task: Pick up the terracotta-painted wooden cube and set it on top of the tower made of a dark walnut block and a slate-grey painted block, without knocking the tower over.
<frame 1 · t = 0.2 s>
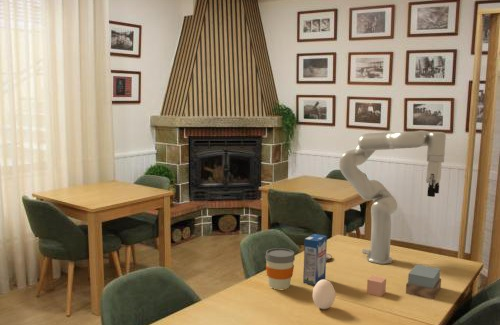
hand: (433, 194, 229), 37 cm above the table, tool pointing down, fingers open, 9 cm apart
reusable coffee cup: (279, 286, 210), on the table
egg: (323, 308, 189), on the table
walnut base block: (423, 291, 208), on the table, touching slate top block
milk carton: (314, 281, 217), on the table
terracotta block: (376, 292, 205), on the table
burger: (319, 259, 248), on the table
slate top block: (424, 281, 208), point 4 cm above the table, touching walnut base block
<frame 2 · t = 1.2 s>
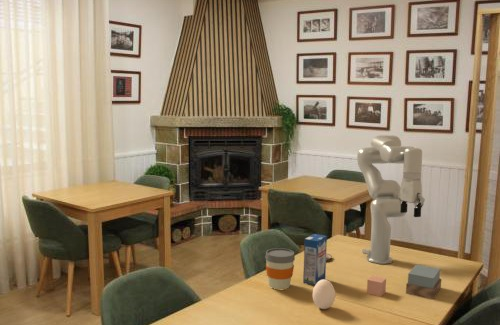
hand: (410, 214, 215), 30 cm above the table, tool pointing down, fingers open, 9 cm apart
nothing on the table moved.
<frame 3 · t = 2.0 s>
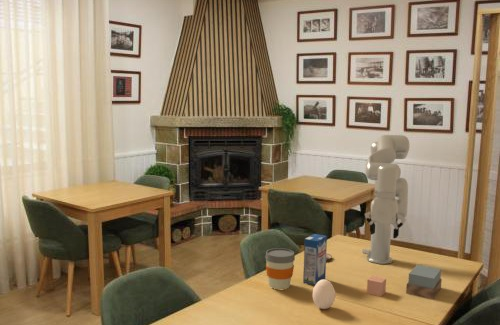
hand: (383, 235, 204), 24 cm above the table, tool pointing down, fingers open, 9 cm apart
nothing on the table moved.
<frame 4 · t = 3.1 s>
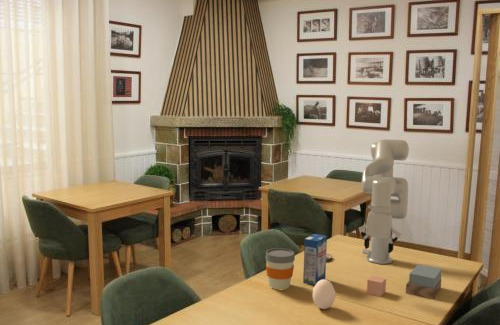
hand: (378, 250, 202), 18 cm above the table, tool pointing down, fingers open, 9 cm apart
nothing on the table moved.
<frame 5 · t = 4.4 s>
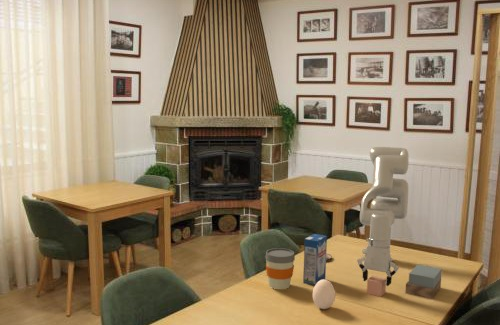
hand: (376, 282, 204), 4 cm above the table, tool pointing down, fingers open, 9 cm apart
nothing on the table moved.
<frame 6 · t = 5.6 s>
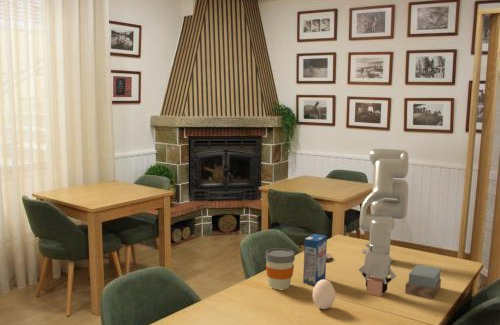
hand: (376, 289, 205), 1 cm above the table, tool pointing down, fingers closed on terracotta block, 6 cm apart
terracotta block: (376, 292, 205), on the table, touching gripper
everything else where it was.
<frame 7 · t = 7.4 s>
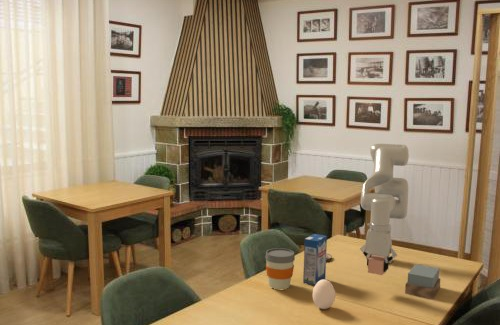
hand: (377, 268, 204), 10 cm above the table, tool pointing down, fingers closed on terracotta block, 6 cm apart
terracotta block: (377, 271, 204), point 9 cm above the table, touching gripper
everything else where it was.
when the fingers open (11 cm above the table, at t = 13.5 s): terracotta block drops 1 cm, point 8 cm above the table.
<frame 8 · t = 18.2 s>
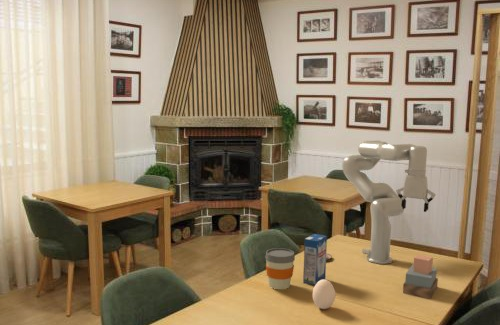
hand: (414, 209, 225), 30 cm above the table, tool pointing down, fingers open, 9 cm apart
terracotta block: (422, 271, 207), point 8 cm above the table
slate top block: (420, 281, 208), point 4 cm above the table, touching walnut base block
at the end: terracotta block 0.5 cm off-centre on the slate top block, point 4.5 cm above the slate top block's base; slate top block tilted 0°; slate top block moved 1.4 cm from its start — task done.
